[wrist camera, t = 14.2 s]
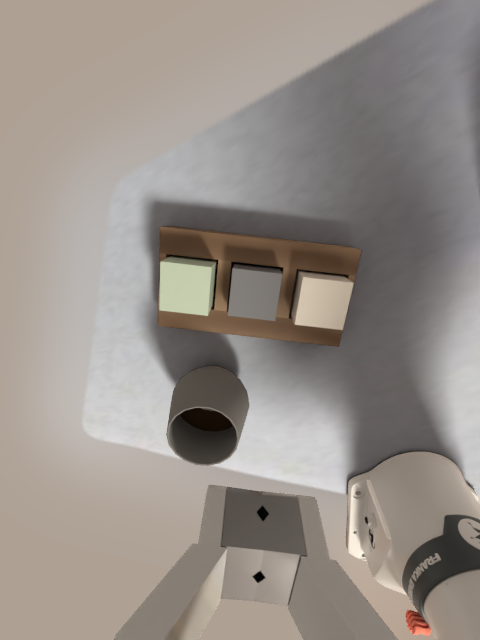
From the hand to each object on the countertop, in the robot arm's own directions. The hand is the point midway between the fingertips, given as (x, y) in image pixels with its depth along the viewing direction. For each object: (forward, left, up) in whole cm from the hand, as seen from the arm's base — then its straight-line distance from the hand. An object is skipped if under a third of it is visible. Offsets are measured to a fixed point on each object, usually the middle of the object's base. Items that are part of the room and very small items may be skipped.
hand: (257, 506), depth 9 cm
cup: (-14, +4, -29) cm, 33 cm away
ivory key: (0, -7, -28) cm, 29 cm away
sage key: (0, +7, -27) cm, 28 cm away
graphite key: (0, 0, -28) cm, 28 cm away
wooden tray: (0, 0, -29) cm, 29 cm away
